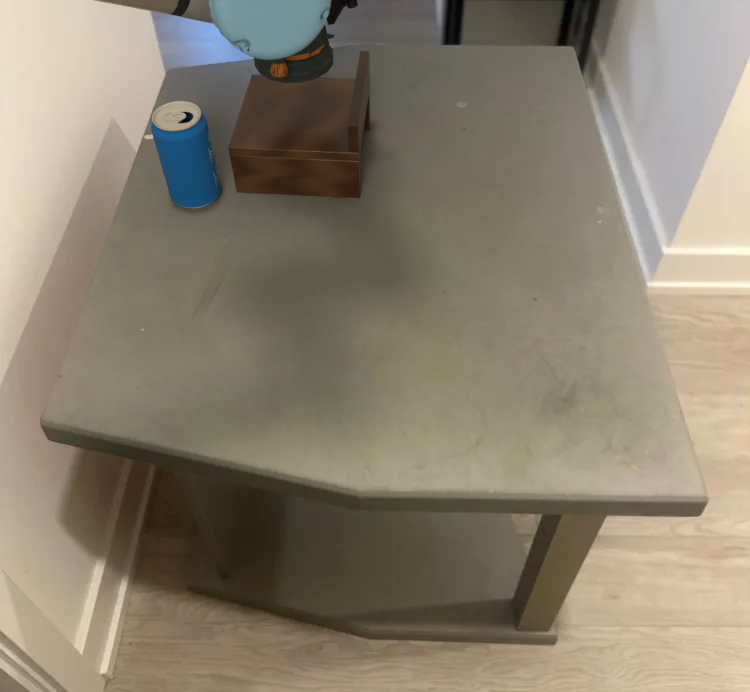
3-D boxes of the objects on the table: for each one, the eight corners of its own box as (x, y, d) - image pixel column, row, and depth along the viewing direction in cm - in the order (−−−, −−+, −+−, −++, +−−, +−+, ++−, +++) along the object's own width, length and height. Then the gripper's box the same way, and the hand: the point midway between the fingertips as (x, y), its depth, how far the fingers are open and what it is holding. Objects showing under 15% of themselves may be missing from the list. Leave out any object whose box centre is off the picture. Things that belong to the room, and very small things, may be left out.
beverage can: (217, 213, 93) (198, 132, 84) (166, 211, 93) (142, 131, 84) (225, 179, 97) (209, 99, 88) (177, 178, 97) (155, 98, 88)
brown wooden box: (236, 192, 95) (222, 119, 87) (258, 118, 105) (247, 46, 97) (359, 198, 95) (357, 124, 86) (370, 123, 104) (369, 50, 96)
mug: (264, 35, 93) (252, -61, 84) (343, 43, 92) (340, -54, 83) (234, 93, 85) (218, -6, 76) (321, 102, 84) (314, 2, 75)
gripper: (211, 1, 64) (204, 73, 86) (445, -44, 69) (382, 35, 91) (185, -89, 63) (185, 6, 85) (424, -128, 68) (366, -28, 89)
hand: (287, 21), depth 88 cm, fingers closed on mug, 10 cm apart
